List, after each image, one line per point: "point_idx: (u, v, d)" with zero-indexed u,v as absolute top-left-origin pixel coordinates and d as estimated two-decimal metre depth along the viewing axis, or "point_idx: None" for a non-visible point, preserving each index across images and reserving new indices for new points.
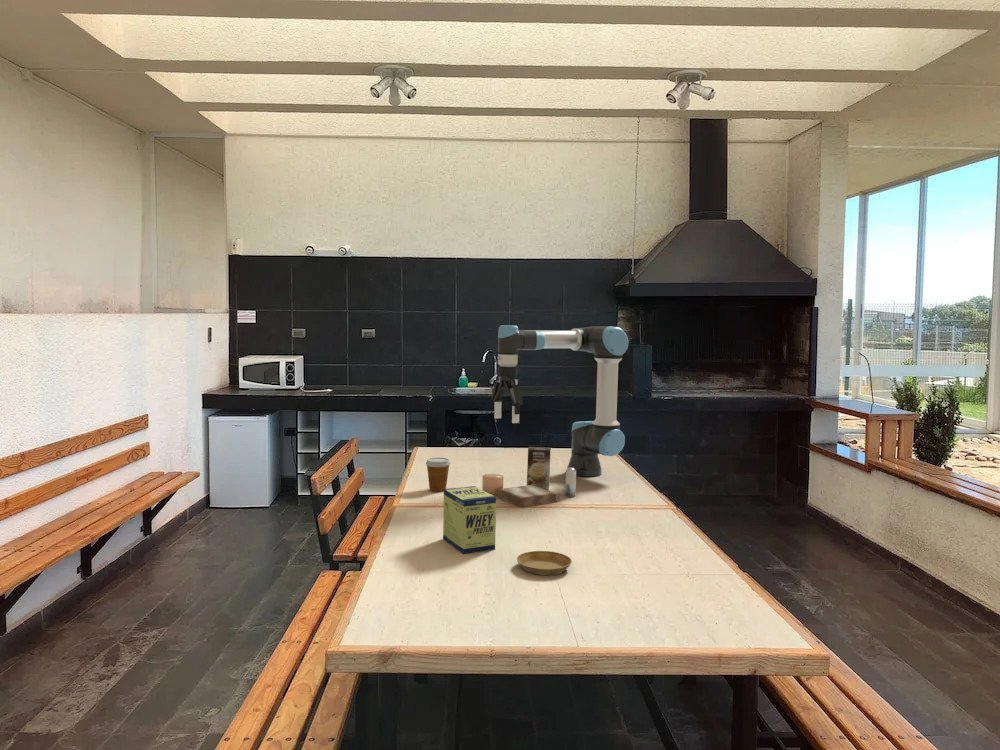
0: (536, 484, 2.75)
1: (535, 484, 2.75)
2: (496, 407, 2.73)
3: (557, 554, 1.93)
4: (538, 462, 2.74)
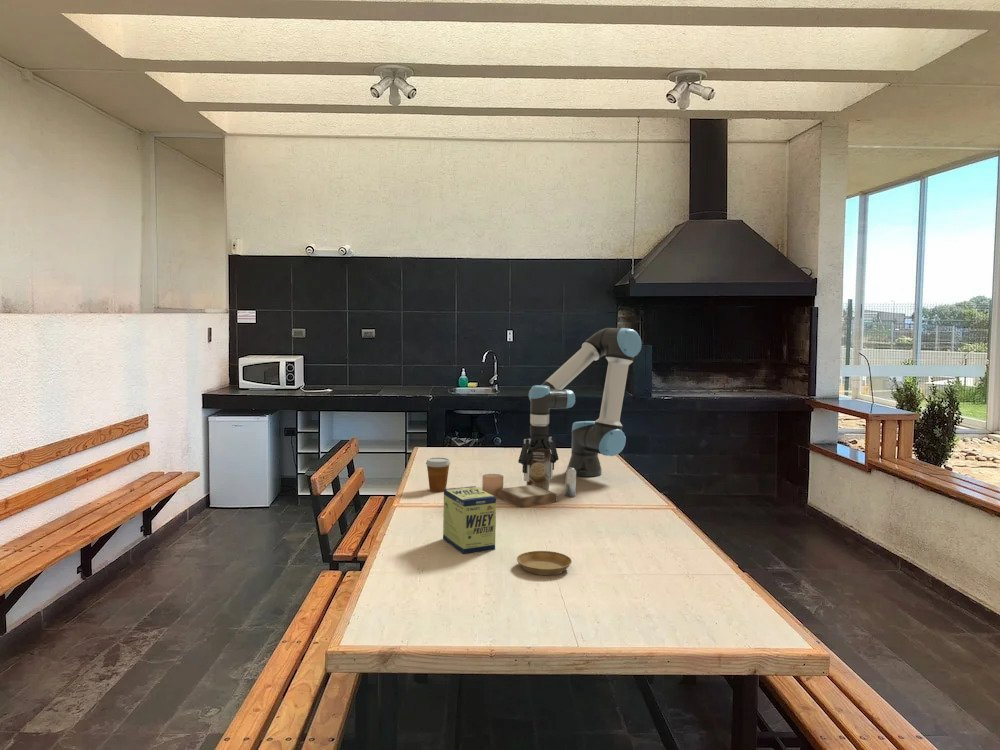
0: (536, 484, 2.75)
1: (535, 484, 2.75)
2: None
3: (557, 554, 1.93)
4: (538, 462, 2.74)
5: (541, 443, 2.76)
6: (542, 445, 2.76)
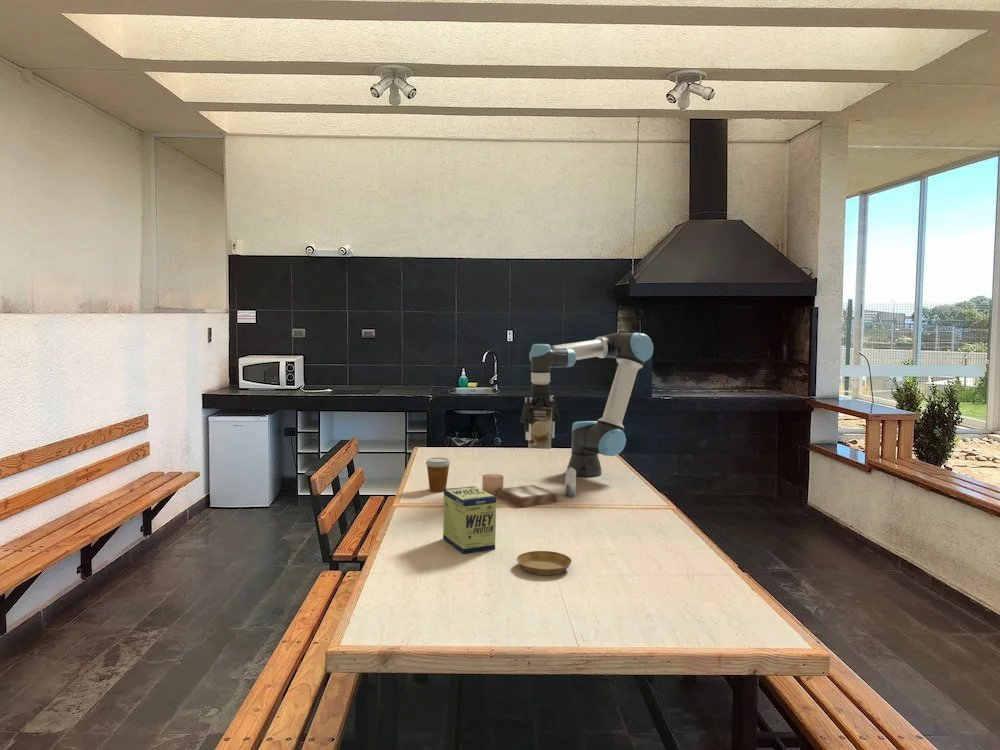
0: (538, 443, 2.74)
1: (537, 443, 2.74)
2: None
3: (557, 554, 1.93)
4: (540, 421, 2.73)
5: (542, 402, 2.75)
6: (543, 404, 2.75)
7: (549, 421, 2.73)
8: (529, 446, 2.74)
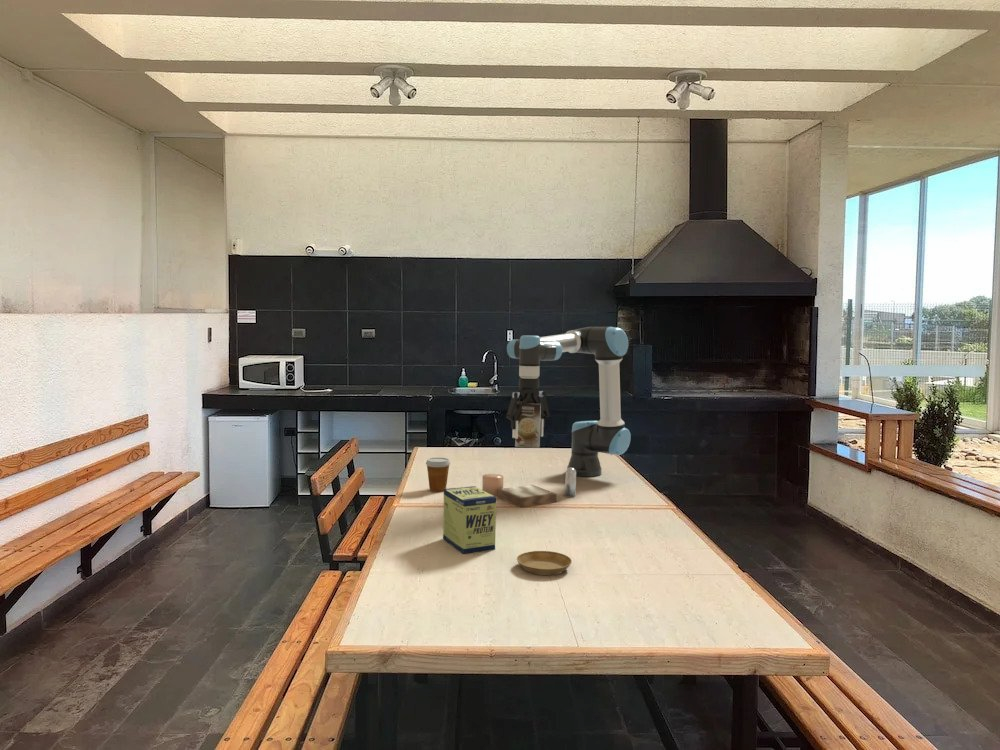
0: (525, 441, 2.55)
1: (524, 441, 2.55)
2: None
3: (557, 554, 1.93)
4: (527, 418, 2.54)
5: (531, 397, 2.56)
6: (532, 399, 2.56)
7: (538, 418, 2.54)
8: (516, 444, 2.56)
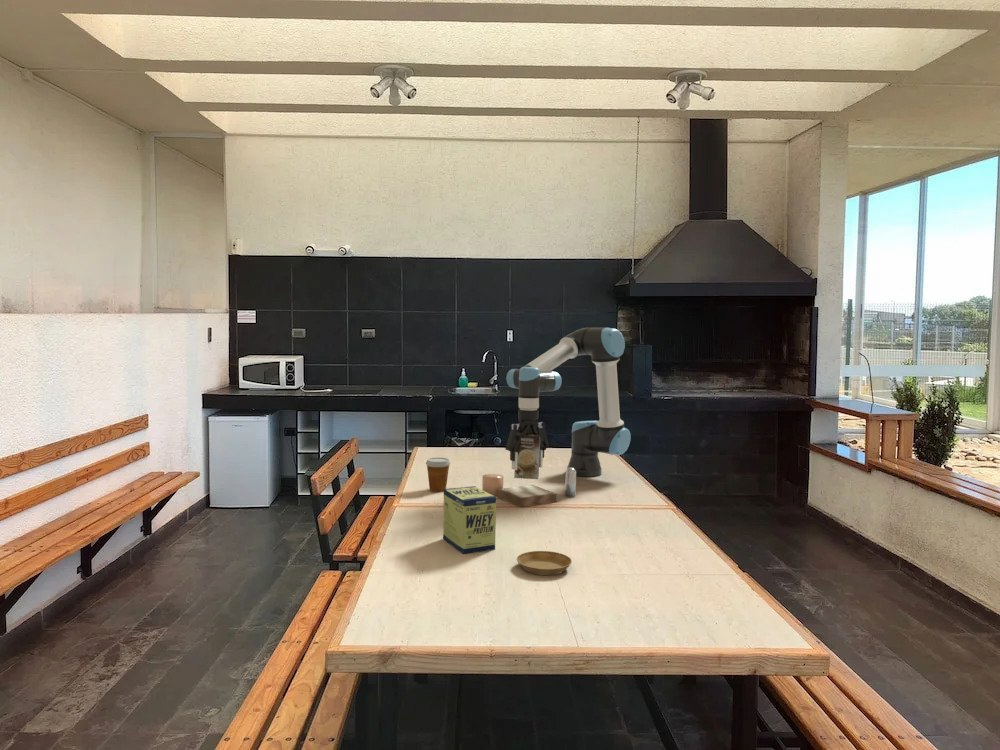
0: (524, 473, 2.56)
1: (523, 473, 2.56)
2: None
3: (557, 554, 1.93)
4: (527, 449, 2.55)
5: (530, 429, 2.57)
6: (531, 431, 2.57)
7: (537, 450, 2.55)
8: (515, 476, 2.56)
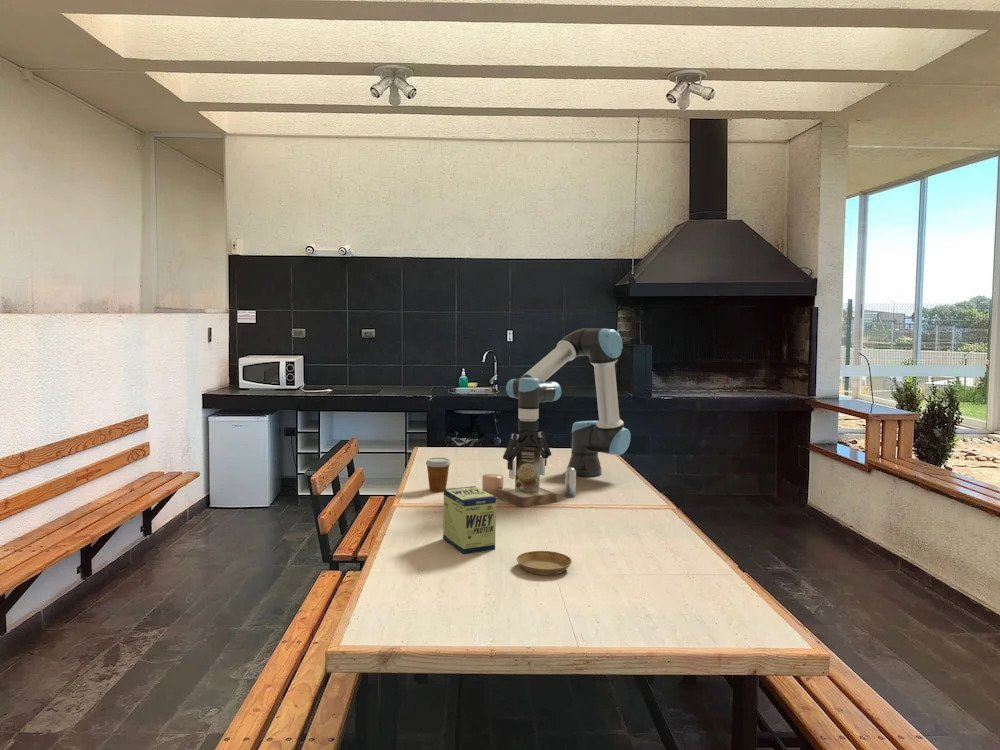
0: (525, 486, 2.56)
1: (524, 486, 2.56)
2: None
3: (557, 554, 1.93)
4: (527, 463, 2.56)
5: (530, 439, 2.57)
6: (531, 442, 2.58)
7: (537, 463, 2.55)
8: (516, 490, 2.57)
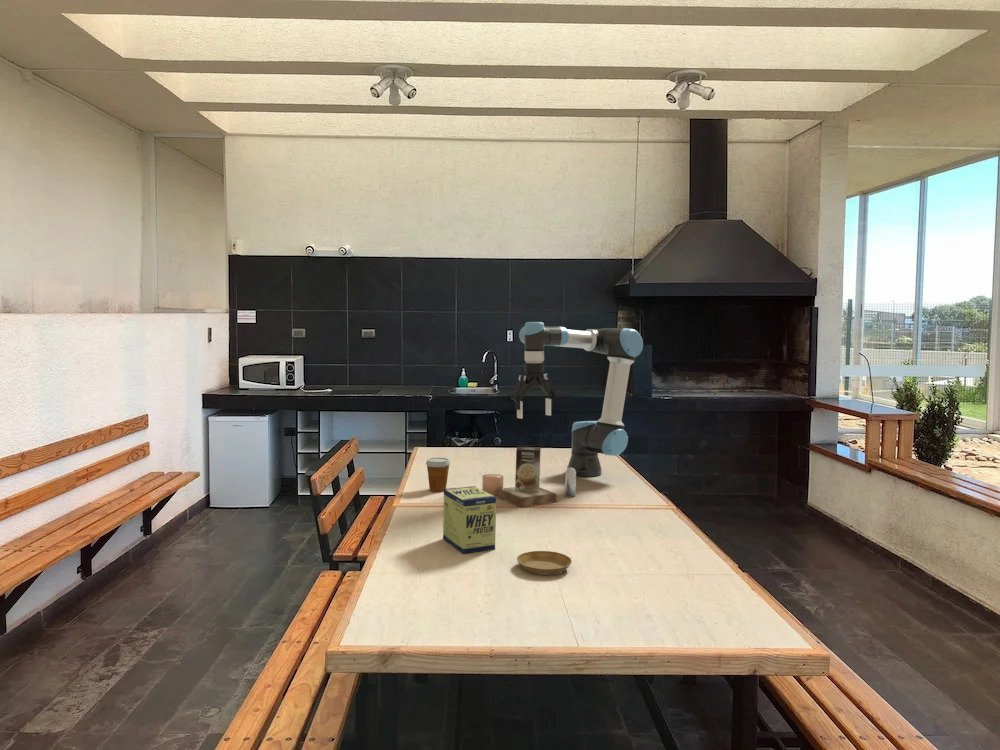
0: (525, 486, 2.56)
1: (524, 486, 2.56)
2: (546, 403, 2.74)
3: (557, 554, 1.93)
4: (527, 463, 2.56)
5: (536, 381, 2.68)
6: (537, 383, 2.69)
7: (537, 463, 2.55)
8: (516, 490, 2.57)
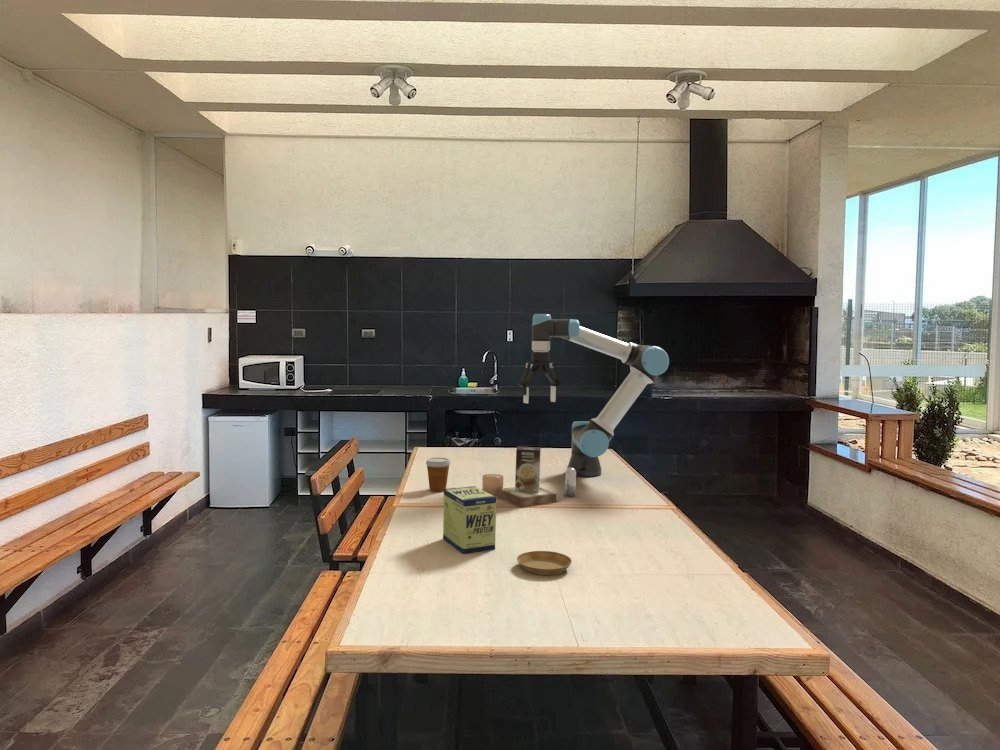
0: (525, 486, 2.56)
1: (524, 486, 2.56)
2: (551, 391, 2.94)
3: (557, 554, 1.93)
4: (527, 463, 2.56)
5: (542, 369, 2.88)
6: (543, 371, 2.88)
7: (537, 463, 2.55)
8: (516, 490, 2.57)
